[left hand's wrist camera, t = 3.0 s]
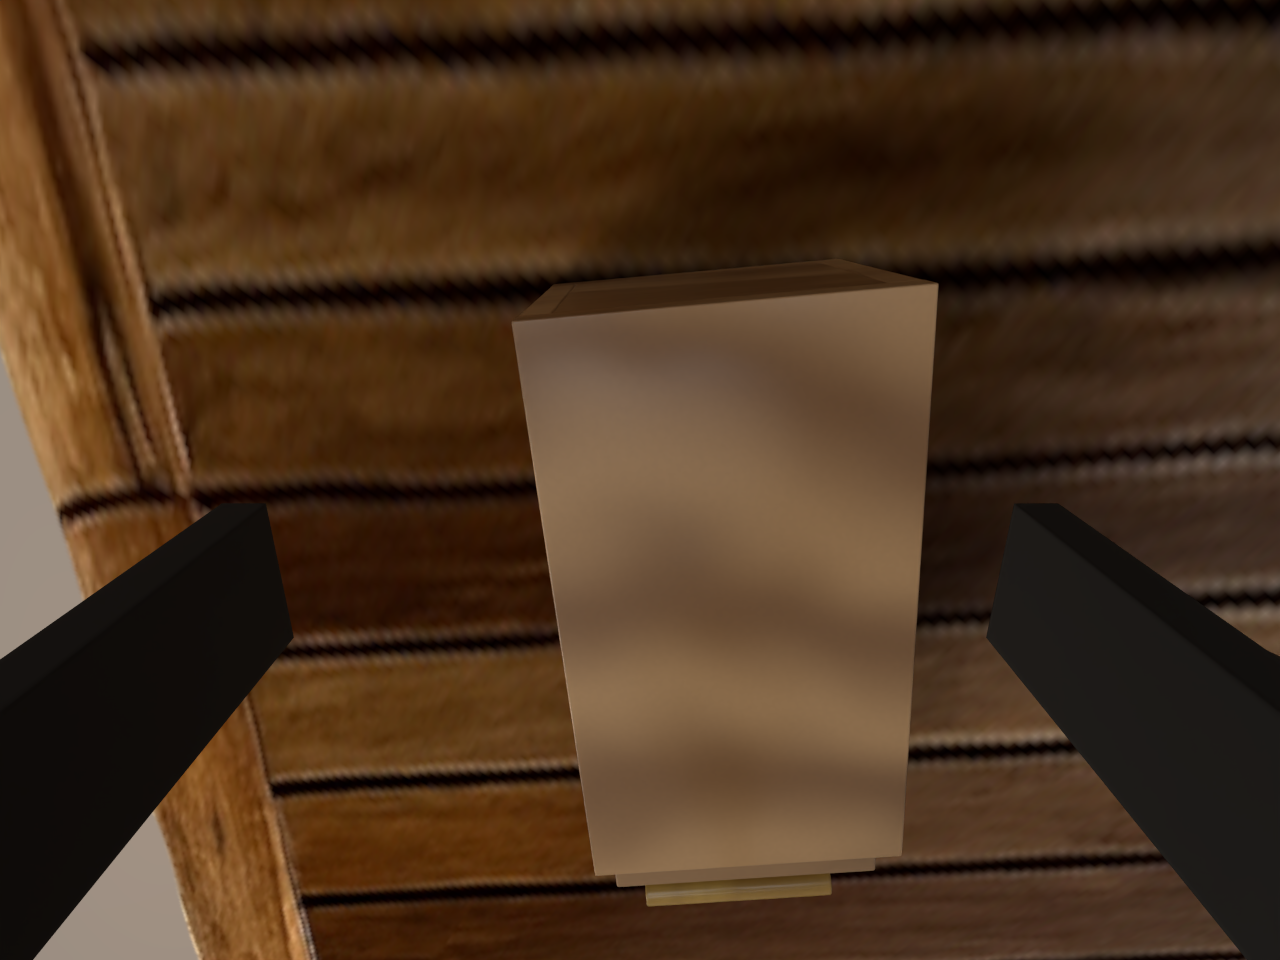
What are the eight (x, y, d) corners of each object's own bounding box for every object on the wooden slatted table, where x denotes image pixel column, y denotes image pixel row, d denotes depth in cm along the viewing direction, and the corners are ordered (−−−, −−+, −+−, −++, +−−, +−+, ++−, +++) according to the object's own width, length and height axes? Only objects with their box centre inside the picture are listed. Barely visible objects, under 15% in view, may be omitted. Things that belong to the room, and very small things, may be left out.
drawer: (824, 821, 37) (870, 974, 30) (632, 833, 38) (630, 988, 30) (829, 343, 28) (898, 392, 21) (575, 366, 28) (552, 421, 21)
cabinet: (832, 685, 35) (902, 856, 26) (606, 702, 36) (595, 876, 26) (839, 258, 28) (939, 282, 19) (553, 284, 28) (510, 320, 19)
